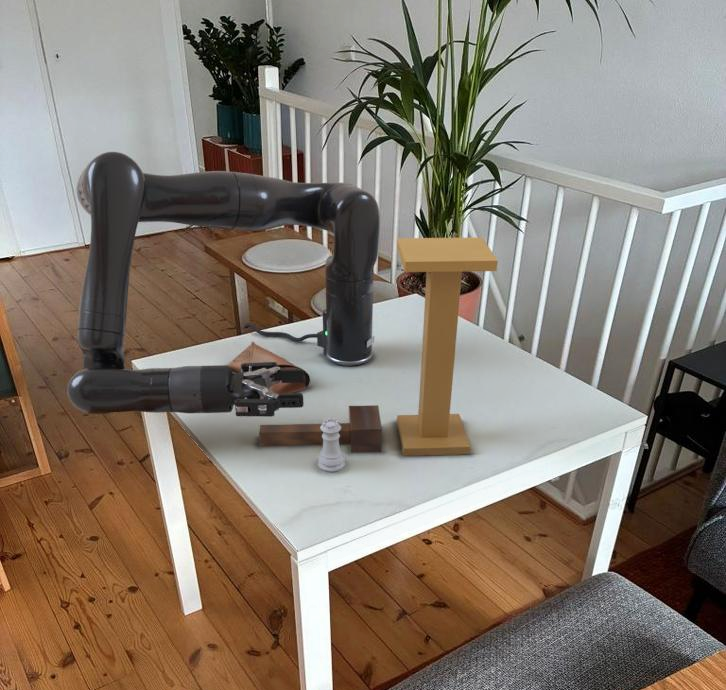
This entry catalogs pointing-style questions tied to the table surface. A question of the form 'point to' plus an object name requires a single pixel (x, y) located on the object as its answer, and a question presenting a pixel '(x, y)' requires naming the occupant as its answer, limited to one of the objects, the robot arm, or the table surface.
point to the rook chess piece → (331, 447)
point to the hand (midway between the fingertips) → (303, 387)
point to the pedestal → (439, 340)
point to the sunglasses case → (262, 355)
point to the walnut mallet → (357, 433)
